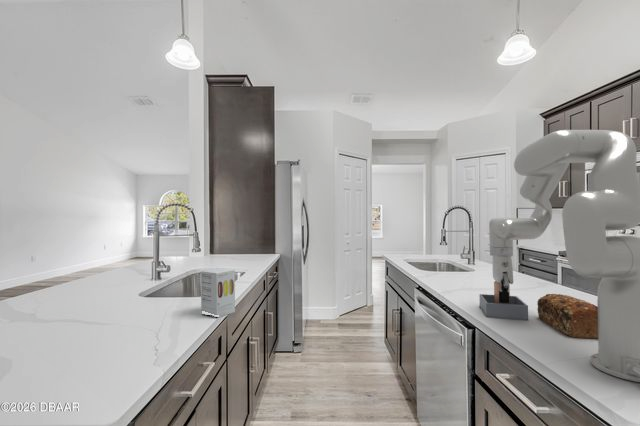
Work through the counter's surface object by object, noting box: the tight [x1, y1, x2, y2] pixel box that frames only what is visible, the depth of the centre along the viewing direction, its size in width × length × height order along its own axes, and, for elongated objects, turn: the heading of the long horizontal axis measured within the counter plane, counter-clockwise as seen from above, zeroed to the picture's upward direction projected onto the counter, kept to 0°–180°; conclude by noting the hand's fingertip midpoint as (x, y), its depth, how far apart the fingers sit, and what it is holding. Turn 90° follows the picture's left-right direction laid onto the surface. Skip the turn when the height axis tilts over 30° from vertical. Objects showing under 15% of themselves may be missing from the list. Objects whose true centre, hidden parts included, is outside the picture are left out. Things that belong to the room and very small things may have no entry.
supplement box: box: [200, 267, 236, 318], centre depth 122 cm, size 10×9×17 cm
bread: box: [536, 293, 598, 340], centre depth 101 cm, size 19×11×10 cm, turn 169°
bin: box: [478, 293, 529, 321], centre depth 116 cm, size 13×13×5 cm
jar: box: [493, 280, 511, 304], centre depth 116 cm, size 5×5×8 cm
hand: (502, 300), depth 116 cm, fingers closed on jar, 4 cm apart
